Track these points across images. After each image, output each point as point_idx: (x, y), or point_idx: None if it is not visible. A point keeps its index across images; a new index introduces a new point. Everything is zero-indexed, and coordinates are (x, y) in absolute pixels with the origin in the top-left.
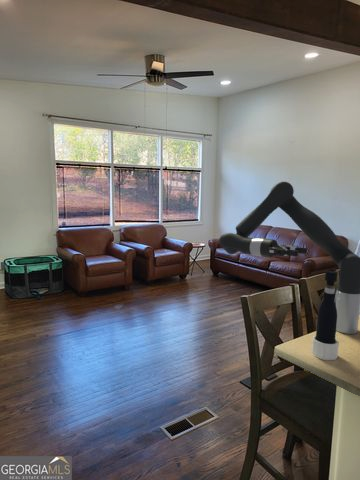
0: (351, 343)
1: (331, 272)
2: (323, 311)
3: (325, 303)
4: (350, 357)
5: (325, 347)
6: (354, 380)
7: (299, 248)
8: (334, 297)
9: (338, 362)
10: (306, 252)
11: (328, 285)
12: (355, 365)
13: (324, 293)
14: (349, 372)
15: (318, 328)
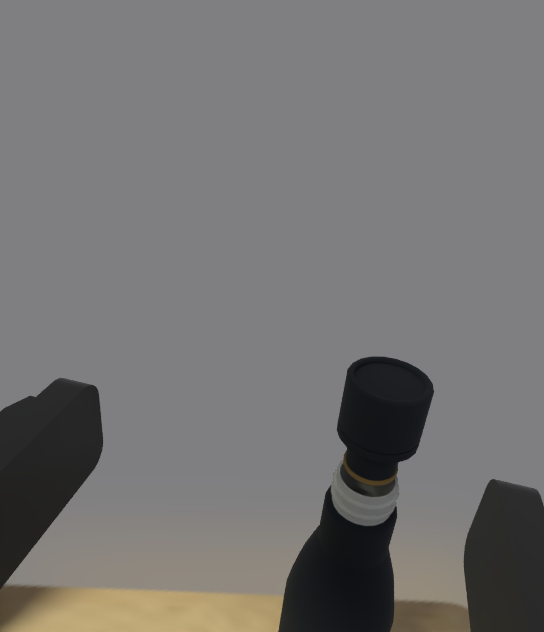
0: (113, 604)
1: (428, 379)
2: (393, 605)
3: (388, 565)
4: (272, 612)
5: None
6: (457, 605)
7: (2, 489)
8: (364, 494)
9: None
10: (102, 434)
11: (395, 469)
12: None
13: (387, 531)
14: (409, 619)
15: None
